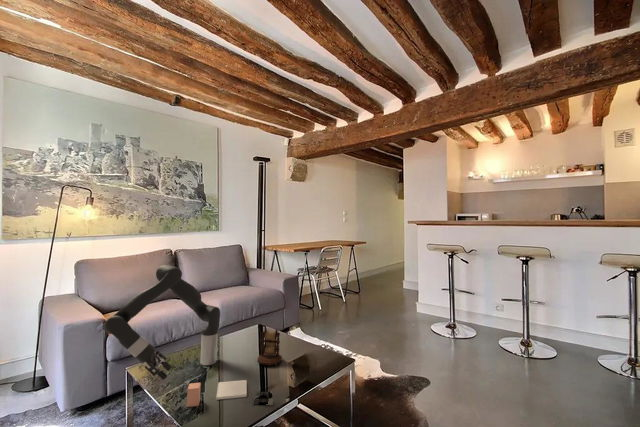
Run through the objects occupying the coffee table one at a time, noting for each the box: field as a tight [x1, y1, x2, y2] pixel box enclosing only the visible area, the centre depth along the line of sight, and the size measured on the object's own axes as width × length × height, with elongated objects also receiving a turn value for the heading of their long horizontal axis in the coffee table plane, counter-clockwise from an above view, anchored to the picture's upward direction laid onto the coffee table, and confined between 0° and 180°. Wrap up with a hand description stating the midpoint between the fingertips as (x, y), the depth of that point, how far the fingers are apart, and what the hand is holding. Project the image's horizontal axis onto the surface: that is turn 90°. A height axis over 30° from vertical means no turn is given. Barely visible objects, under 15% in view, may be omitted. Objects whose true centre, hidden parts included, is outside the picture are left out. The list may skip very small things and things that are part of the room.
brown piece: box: [257, 328, 283, 366], centre depth 190 cm, size 15×15×20 cm
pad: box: [215, 379, 248, 401], centre depth 156 cm, size 14×14×1 cm
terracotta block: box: [186, 382, 202, 408], centre depth 145 cm, size 5×5×8 cm
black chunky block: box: [252, 391, 270, 407], centre depth 147 cm, size 12×7×5 cm, turn 96°
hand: (168, 373), depth 142 cm, fingers open, 8 cm apart
